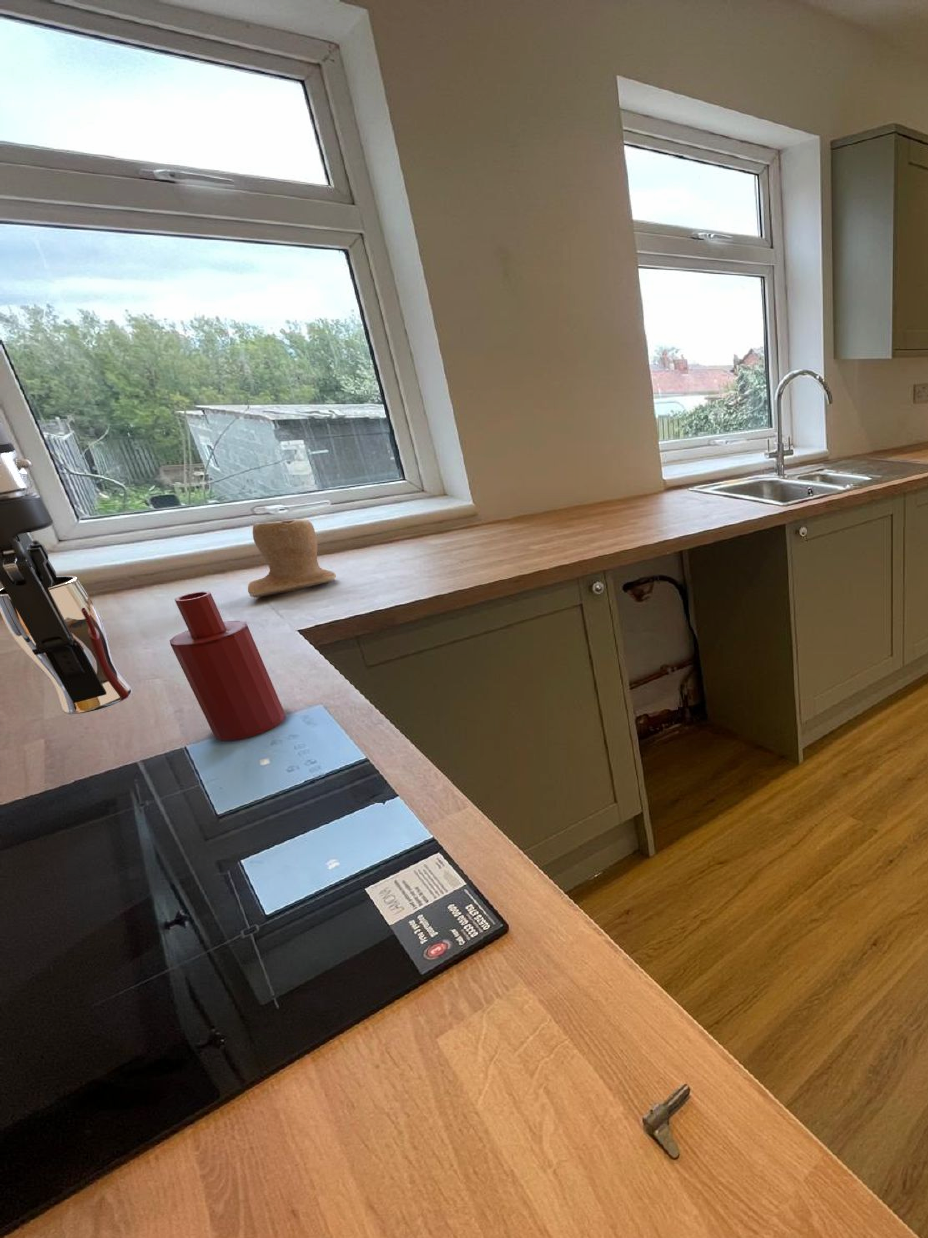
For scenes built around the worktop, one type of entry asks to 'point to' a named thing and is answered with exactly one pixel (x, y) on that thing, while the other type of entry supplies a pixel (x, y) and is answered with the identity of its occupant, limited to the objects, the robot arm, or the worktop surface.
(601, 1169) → the worktop surface
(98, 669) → the beer glass
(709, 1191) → the worktop surface
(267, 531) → the brown top hat
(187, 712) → the worktop surface
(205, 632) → the sauce bottle
